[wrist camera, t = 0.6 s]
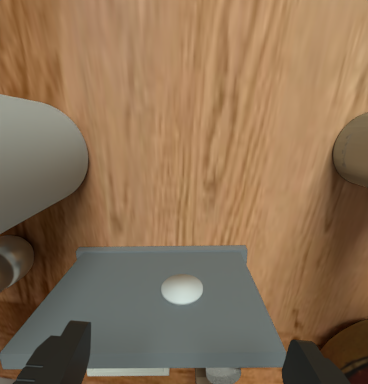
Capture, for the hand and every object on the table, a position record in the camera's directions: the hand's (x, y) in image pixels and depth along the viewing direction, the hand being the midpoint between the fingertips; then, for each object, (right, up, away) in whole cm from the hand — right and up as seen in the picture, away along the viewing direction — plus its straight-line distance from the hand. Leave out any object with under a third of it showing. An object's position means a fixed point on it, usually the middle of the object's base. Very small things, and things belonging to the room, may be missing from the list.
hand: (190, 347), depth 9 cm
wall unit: (-3, -5, +25) cm, 25 cm away
